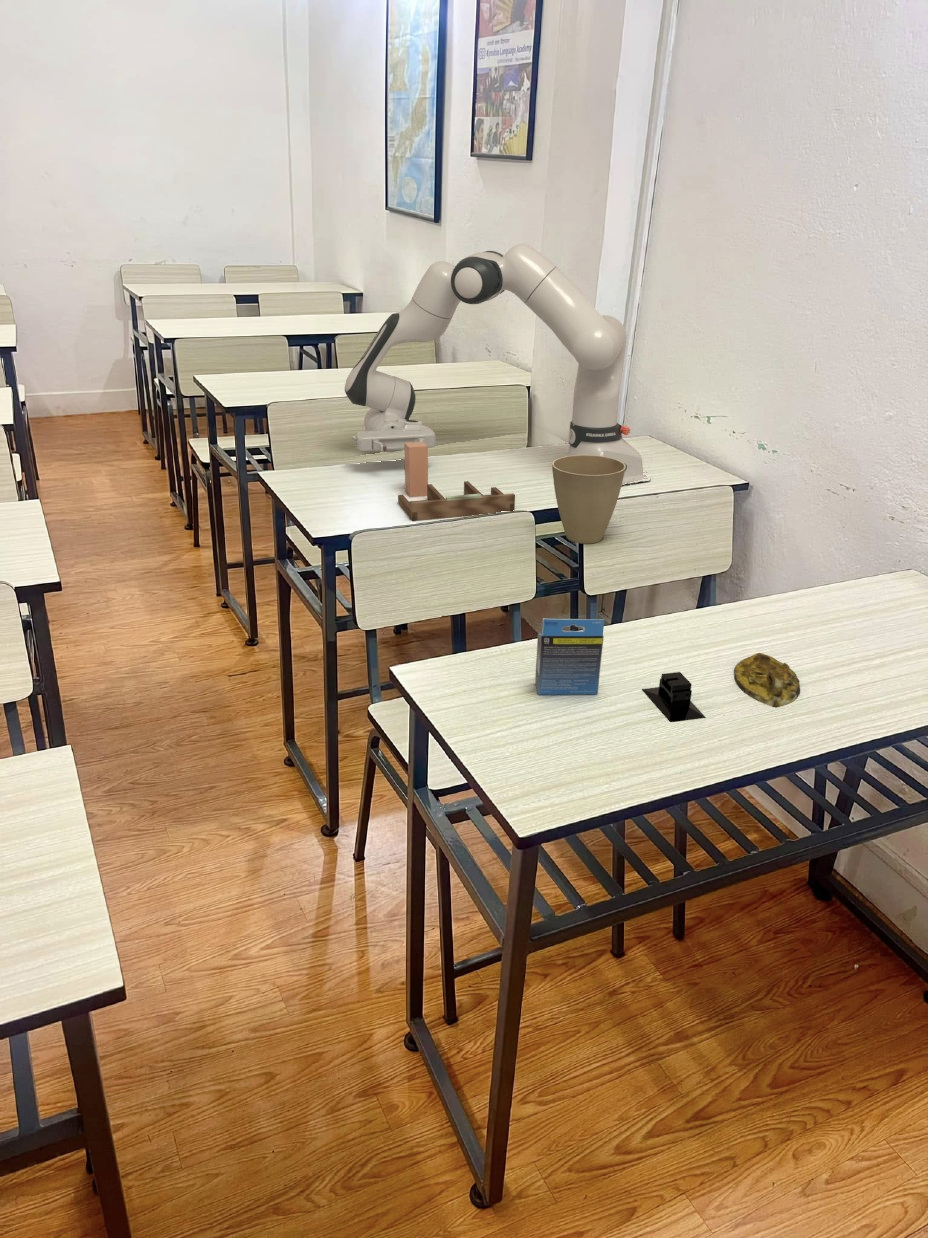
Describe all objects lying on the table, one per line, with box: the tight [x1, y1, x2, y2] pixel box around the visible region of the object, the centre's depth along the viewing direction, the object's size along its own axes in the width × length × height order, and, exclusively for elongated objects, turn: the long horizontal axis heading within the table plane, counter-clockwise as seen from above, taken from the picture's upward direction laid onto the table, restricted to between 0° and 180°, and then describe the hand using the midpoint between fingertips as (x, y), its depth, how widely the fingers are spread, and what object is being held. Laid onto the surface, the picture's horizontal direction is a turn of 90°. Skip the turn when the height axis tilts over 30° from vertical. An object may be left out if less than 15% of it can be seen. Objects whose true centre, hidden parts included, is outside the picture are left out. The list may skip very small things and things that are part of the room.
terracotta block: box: [403, 442, 429, 498], centre depth 212 cm, size 4×4×12 cm
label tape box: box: [534, 617, 605, 696], centre depth 128 cm, size 9×4×12 cm, turn 92°
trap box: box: [397, 480, 516, 522], centre depth 205 cm, size 24×13×5 cm, turn 108°
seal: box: [733, 652, 801, 708], centre depth 133 cm, size 9×5×15 cm
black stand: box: [641, 671, 707, 723], centre depth 127 cm, size 12×7×5 cm, turn 14°
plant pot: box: [551, 455, 626, 545], centre depth 185 cm, size 15×15×16 cm
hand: (402, 447), depth 222 cm, fingers open, 8 cm apart
